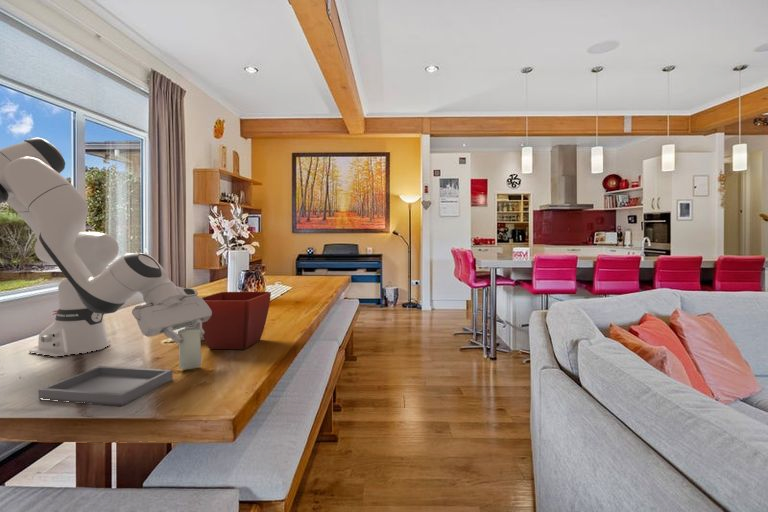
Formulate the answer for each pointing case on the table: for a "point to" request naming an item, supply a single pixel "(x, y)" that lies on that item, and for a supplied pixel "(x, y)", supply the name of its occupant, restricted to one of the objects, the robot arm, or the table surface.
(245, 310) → the plant pot
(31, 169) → the robot arm
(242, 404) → the table surface
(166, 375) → the grey tray
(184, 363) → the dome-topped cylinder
